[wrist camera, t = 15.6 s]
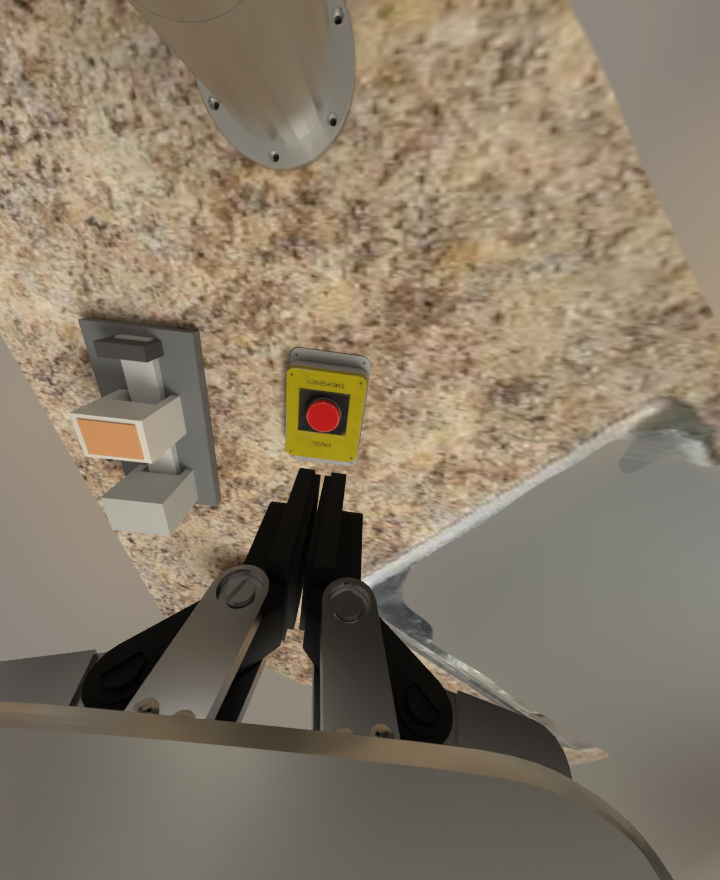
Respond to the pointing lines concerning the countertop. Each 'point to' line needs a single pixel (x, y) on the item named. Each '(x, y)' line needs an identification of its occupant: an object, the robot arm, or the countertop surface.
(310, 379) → the emergency button
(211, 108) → the robot arm
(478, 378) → the countertop surface
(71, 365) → the countertop surface
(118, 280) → the countertop surface
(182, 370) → the rail board
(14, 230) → the countertop surface
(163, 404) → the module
